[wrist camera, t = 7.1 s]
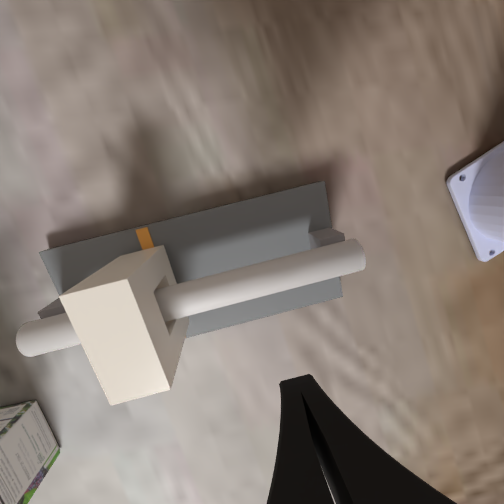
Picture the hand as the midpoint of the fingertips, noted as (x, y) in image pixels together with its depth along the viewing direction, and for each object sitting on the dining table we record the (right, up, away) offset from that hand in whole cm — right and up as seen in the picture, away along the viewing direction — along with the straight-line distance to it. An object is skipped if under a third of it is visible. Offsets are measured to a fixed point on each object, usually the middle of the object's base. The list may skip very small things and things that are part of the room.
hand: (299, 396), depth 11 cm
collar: (-9, +3, +8) cm, 12 cm away
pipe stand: (-6, +5, +9) cm, 12 cm away
